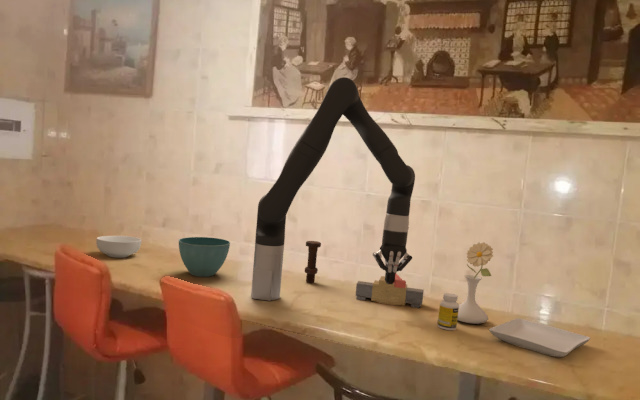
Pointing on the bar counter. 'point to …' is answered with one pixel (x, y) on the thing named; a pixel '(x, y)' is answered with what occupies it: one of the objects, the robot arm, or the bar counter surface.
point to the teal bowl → (203, 254)
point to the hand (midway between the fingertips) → (389, 283)
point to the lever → (399, 282)
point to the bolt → (312, 260)
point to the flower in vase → (475, 284)
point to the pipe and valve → (389, 293)
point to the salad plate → (539, 337)
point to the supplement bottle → (448, 312)
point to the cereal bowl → (118, 245)
